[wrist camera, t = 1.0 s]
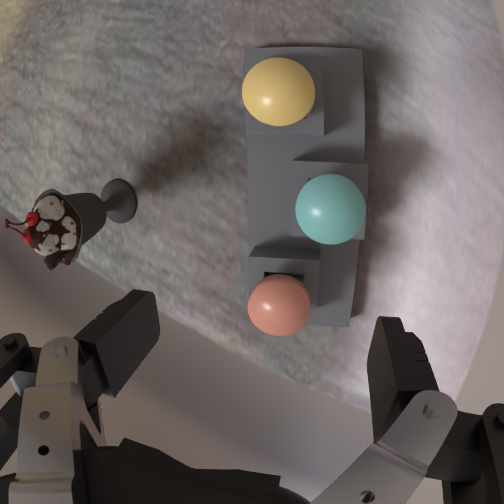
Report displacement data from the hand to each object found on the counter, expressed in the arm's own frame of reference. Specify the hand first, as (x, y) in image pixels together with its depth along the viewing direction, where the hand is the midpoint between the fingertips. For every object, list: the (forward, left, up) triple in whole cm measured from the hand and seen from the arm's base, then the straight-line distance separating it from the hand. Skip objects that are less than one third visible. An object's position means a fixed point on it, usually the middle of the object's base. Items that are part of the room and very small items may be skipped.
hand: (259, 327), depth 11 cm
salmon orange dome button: (+6, -1, -16) cm, 17 cm away
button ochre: (-10, -1, -16) cm, 19 cm away
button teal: (-2, +3, -16) cm, 16 cm away
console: (-2, +1, -19) cm, 19 cm away
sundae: (-1, -19, -20) cm, 28 cm away
